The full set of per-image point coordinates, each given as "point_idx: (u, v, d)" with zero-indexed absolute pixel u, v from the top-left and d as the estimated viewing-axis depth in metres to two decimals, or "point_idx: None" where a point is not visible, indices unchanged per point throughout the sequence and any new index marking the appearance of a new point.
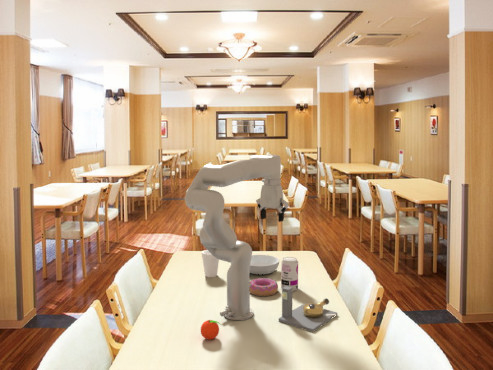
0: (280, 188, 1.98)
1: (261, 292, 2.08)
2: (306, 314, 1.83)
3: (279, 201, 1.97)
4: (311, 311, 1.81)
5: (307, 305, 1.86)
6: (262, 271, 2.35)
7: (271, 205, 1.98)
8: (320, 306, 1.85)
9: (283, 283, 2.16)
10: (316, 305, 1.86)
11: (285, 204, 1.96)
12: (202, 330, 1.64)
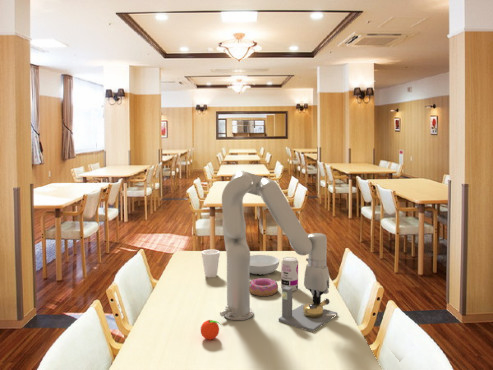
0: (326, 270, 1.87)
1: (261, 292, 2.08)
2: (306, 314, 1.83)
3: (325, 284, 1.86)
4: (311, 311, 1.81)
5: (307, 305, 1.86)
6: (262, 271, 2.35)
7: (316, 287, 1.87)
8: (320, 306, 1.85)
9: (283, 283, 2.16)
10: (316, 305, 1.86)
11: (325, 291, 1.87)
12: (202, 330, 1.64)
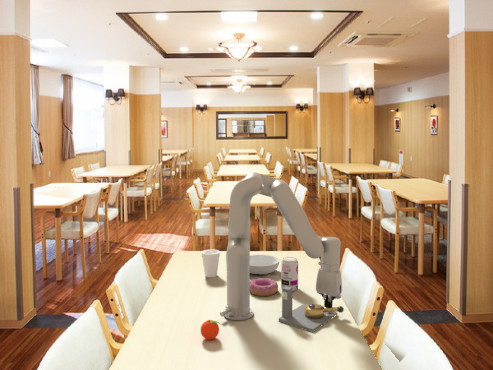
0: (339, 275, 1.83)
1: (261, 292, 2.08)
2: (304, 312, 1.85)
3: (338, 289, 1.82)
4: (306, 310, 1.83)
5: None
6: (262, 271, 2.35)
7: (328, 292, 1.83)
8: (320, 309, 1.82)
9: (283, 283, 2.16)
10: (319, 307, 1.84)
11: (337, 296, 1.84)
12: (202, 330, 1.64)
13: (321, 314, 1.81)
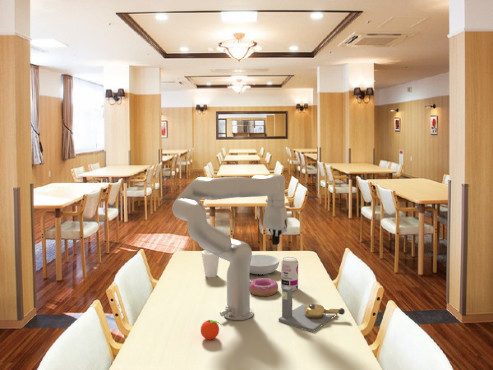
0: (284, 209, 1.93)
1: (261, 292, 2.08)
2: None
3: (283, 223, 1.92)
4: (305, 309, 1.83)
5: (313, 305, 1.87)
6: (262, 271, 2.35)
7: (274, 226, 1.93)
8: (320, 310, 1.82)
9: (283, 283, 2.16)
10: (319, 308, 1.83)
11: (283, 230, 1.93)
12: (202, 330, 1.64)
13: (320, 315, 1.81)
